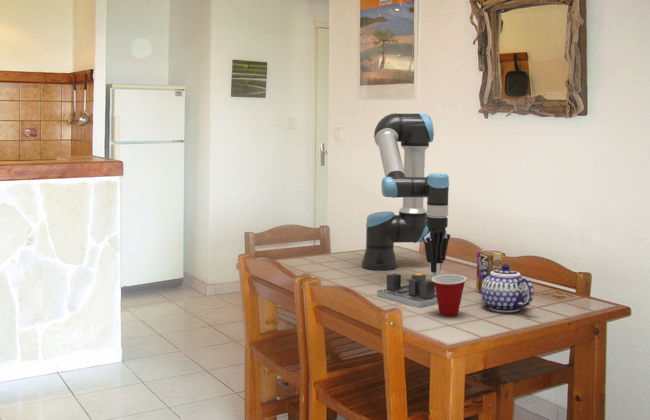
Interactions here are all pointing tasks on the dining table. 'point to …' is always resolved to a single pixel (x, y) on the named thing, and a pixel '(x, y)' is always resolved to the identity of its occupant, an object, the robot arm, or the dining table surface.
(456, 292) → the plastic cup
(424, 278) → the breaker
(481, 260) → the candy box
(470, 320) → the dining table surface
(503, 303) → the teapot
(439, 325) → the dining table surface
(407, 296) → the breaker panel
